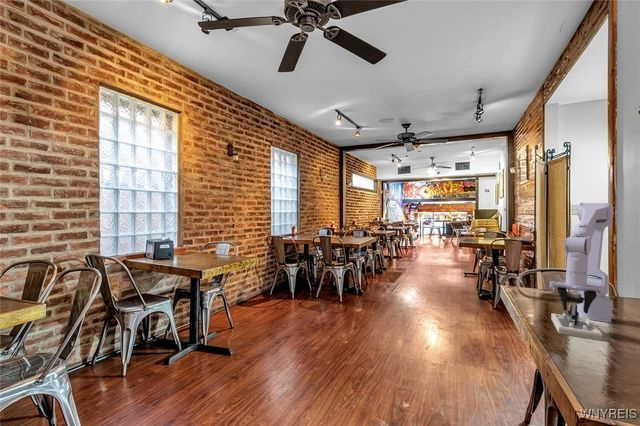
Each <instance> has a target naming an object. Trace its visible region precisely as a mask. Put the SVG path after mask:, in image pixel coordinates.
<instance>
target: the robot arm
mask: <svg viewBox="0 0 640 426" xmlns="http://www.w3.org/2000/svg"><path fill="white" fill-rule="evenodd" d="M576 209H577V212H576V213H577V217H578V219H579V223H578V224H576V225H575V226H574V228H573V229H572V232H571V235H570V236H568V237H566V238H565V239H564V250H565V251H564V253H565V254H564V255H565V258H566V263H565V264H566V265H565V266H566V269H565V271H566V272H565V281H551V280H550V281H549V288H552V289H556V290H557V293H558V294H559V297H560V299H561V304H562V309H563V310H564V311H568V301H567V295H568V293H569V292H568V290H573V291H576V293H577V294H581V297H583V298H584V300H583V303H581V304H577V312H579V316H580V318H587V319H590V321H591V320H592V321H599V322H605V323H612V320H611V317H612V301H611V297H609V296H607V295H608V294H609V290H610V289H609V288H610V281H609V280H610V278H609V276H608V274H607V273H606V272H604V271H603V270H602V269H601V261H602V260H601V259H602V253H603V252H602V251H603V242H604V241H603V239H604V233H605V230H606V228H608V227H611V226H612V223H613V214H614V206H613V204H612V203H611V202H608V203H607V202H605V203H604V202H601V203H600V202H586V203H585V202H580V203H579V204H578V205H577V208H576Z"/></svg>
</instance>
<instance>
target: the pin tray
mask: <svg viewBox="0 0 640 426" xmlns="http://www.w3.org/2000/svg"><path fill="white" fill-rule="evenodd" d="M550 315H551V316H550V318H551V321H552V323H553V325H554V327H555V329H556V331H557V332H558V334H560V335H567V336H572V337H578V338H584V339H591V340H596V341H602V340H603V333H602V332H601V331H600V330H599V329H598V327H597V326H596V325H595V324H594V323H593V321H591V319H587V318H580V316H578V319H577V322H576V324H573V323H569V318H570V317H568V320H567V316H568V313H565V312H563V313H562V314H557V313H553V312H551V314H550Z"/></svg>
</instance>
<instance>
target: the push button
mask: <svg viewBox="0 0 640 426" xmlns="http://www.w3.org/2000/svg"><path fill="white" fill-rule="evenodd" d="M583 300H584V298H583V297H581V294H578V293H577V292H570V291H569V292H568V294H567V303H570V305H569V310H568V309H567V320H568V317H570V318H569V323H573V324H576V322H577V319H578V316H579V312H578V304H581V303H583Z"/></svg>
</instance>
